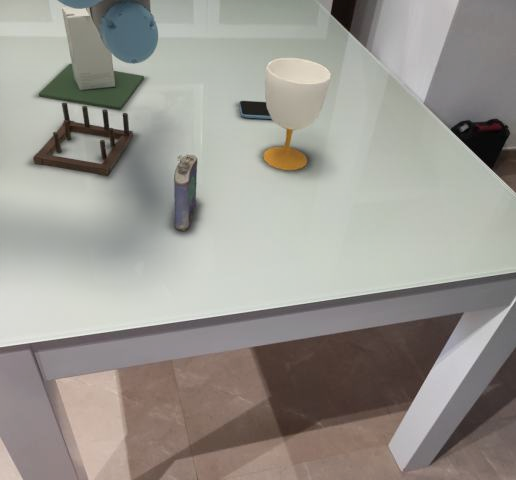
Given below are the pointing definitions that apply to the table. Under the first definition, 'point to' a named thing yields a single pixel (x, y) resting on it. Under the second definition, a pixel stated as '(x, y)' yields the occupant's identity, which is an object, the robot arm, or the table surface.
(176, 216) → the flask
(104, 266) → the table surface
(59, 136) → the rack
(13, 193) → the table surface
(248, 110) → the smartphone
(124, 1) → the robot arm
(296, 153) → the cup
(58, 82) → the mat
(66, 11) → the cosmetic box
